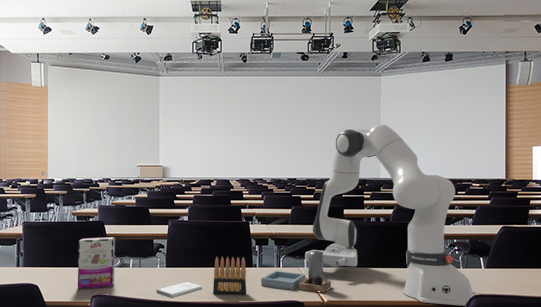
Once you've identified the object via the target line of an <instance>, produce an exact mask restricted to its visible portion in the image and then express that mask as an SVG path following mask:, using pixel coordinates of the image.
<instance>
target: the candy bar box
mask: <svg viewBox="0 0 541 307" xmlns="http://www.w3.org/2000/svg"><path fill="white" fill-rule="evenodd" d="M115 243H116V237H114V236H111V237H109V236H108V237H106V236H105V237H90V238H89V237H87V238H81V239H80V240H78V257H77V258H78V260H77V264H78V266H77V268H78V270H77V289H78V290H83V289H84V290H85V289H86V290H87V289H99V288H110V287H113V285H114V284H115V262H116V261H115V260H116V259H115V252H116V250H115V249H116V246H115V245H116V244H115Z"/></svg>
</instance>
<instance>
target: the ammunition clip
mask: <svg viewBox="0 0 541 307" xmlns="http://www.w3.org/2000/svg"><path fill="white" fill-rule="evenodd" d="M224 260H226V261H224ZM246 273H247V271H246V259H245V257H244V256H243V257H242V259H241V261H240V257H238V256H237V258H236V263H235V258H234V256H232V257H231V261H230V258H229V256H227V257H226V259H224V257H223V256H221V258H220V264H219V258H218V256H216V257H215V261H214V270H213V275H214V276H213V286H212V287H213V288H212V289H213V290H212V295H215V296H217V295H219V296H220V295H221V296H246V295H247V274H246Z"/></svg>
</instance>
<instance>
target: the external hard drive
mask: <svg viewBox="0 0 541 307" xmlns="http://www.w3.org/2000/svg"><path fill="white" fill-rule="evenodd" d="M202 289H203V286H202V285H200V284H196V283H193V282H189V281H186V282H181V283H177V284H174V285H169V286H166V287H162V288H157V289H156V293H157V294H161V295H163V296H166V297H168V298H175V297H178V296H181V295H185V294H189V293H191V292H196V291H199V290H202Z"/></svg>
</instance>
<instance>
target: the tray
mask: <svg viewBox="0 0 541 307" xmlns="http://www.w3.org/2000/svg"><path fill="white" fill-rule="evenodd" d="M305 279H306V274H305V273H296V272H289V271H281V270H274V271H272V272H271V273H268V274H266V275H265V276H263V277H261V279H260V281H261V282H260V283H261V286H262V287H270V288H274V289H275V288H276V289H283V290H289V291H293V290H296V289H297V288H299V283H300V282H302V281H303V280H305ZM296 287H297V288H296Z"/></svg>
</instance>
